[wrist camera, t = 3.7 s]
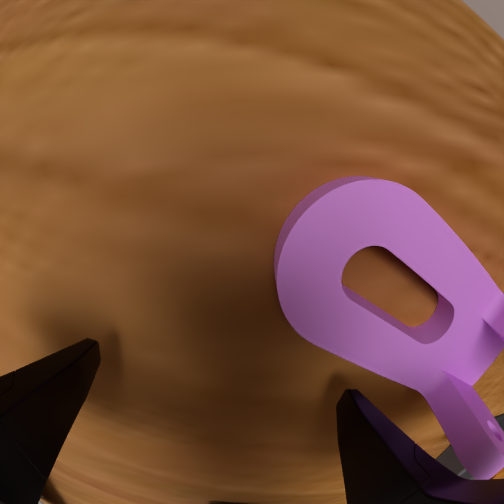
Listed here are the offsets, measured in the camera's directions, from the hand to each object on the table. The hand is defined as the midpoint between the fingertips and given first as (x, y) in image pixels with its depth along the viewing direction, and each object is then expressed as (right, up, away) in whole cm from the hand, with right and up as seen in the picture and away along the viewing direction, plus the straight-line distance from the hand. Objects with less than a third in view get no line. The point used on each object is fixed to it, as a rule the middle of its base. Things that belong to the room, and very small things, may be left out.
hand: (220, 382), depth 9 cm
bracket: (+8, +2, +1) cm, 8 cm away
